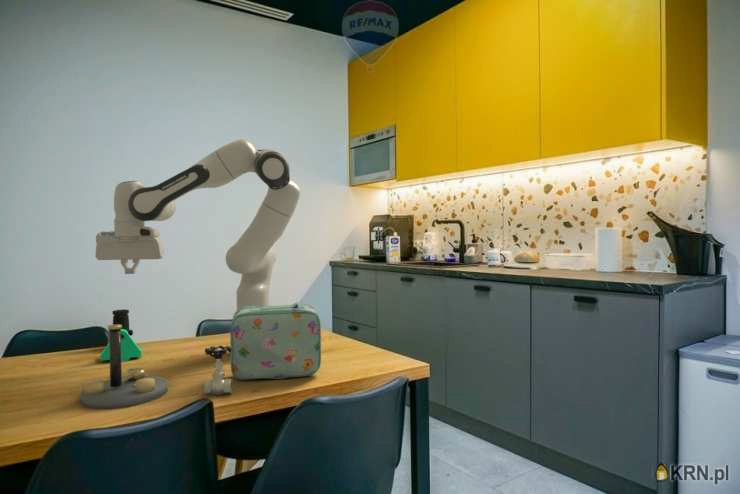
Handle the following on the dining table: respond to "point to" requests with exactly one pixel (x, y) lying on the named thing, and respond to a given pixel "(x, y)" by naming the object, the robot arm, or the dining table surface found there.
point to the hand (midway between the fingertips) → (130, 273)
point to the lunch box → (275, 342)
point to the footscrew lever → (115, 359)
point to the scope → (121, 321)
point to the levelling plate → (122, 392)
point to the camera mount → (124, 348)
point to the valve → (218, 373)
